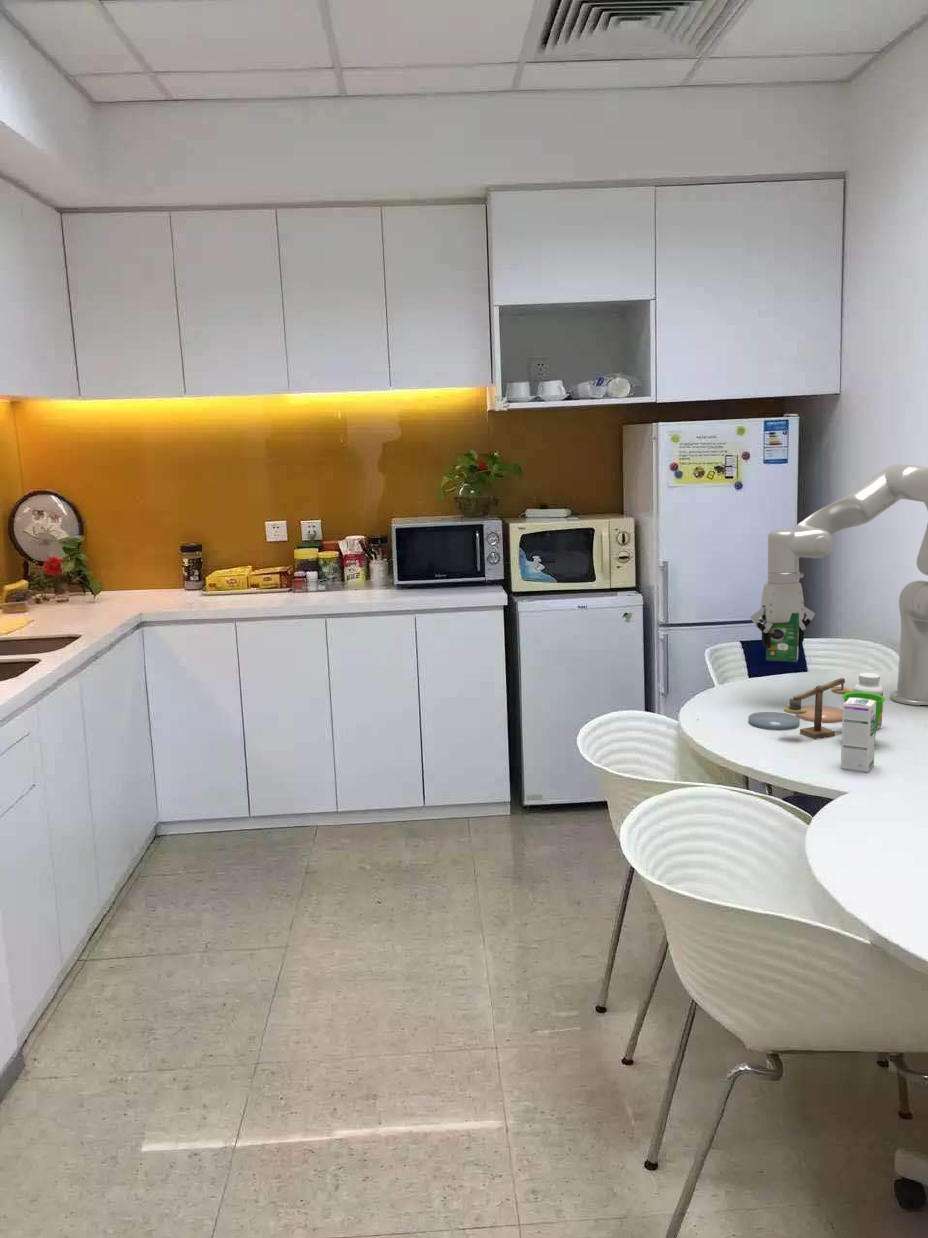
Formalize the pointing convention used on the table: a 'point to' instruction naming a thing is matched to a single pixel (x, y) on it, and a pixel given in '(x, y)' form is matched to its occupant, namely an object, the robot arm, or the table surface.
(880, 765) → the table surface
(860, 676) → the supplement bottle
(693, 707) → the table surface
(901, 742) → the table surface
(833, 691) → the balance
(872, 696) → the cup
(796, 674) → the table surface
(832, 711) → the dish
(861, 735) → the syrup box
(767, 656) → the coffee box
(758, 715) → the dish
